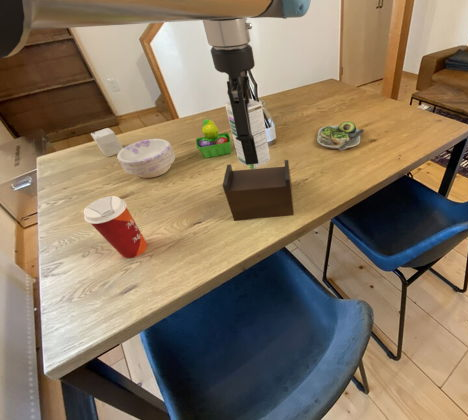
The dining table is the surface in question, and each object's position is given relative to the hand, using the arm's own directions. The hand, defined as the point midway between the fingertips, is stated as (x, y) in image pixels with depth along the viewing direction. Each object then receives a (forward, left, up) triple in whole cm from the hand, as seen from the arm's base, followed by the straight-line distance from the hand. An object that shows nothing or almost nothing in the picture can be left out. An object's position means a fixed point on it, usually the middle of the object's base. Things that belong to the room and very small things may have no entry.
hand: (253, 153), depth 66 cm
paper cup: (-11, +31, -18) cm, 37 cm away
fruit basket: (+33, +18, -18) cm, 41 cm away
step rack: (+3, 0, -17) cm, 18 cm away
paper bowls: (+24, +37, -18) cm, 47 cm away
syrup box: (0, 0, -2) cm, 2 cm away
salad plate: (+36, -28, -17) cm, 49 cm away
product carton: (+39, +56, -18) cm, 70 cm away
